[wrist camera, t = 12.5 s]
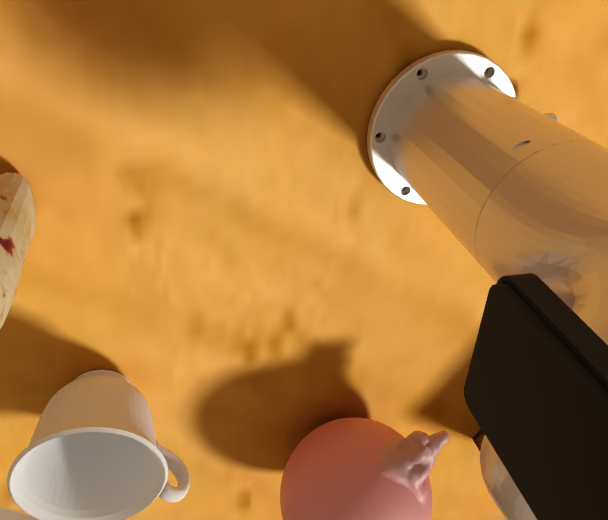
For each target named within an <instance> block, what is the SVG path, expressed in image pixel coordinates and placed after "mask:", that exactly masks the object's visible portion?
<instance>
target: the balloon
mask: <svg viewBox="0 0 608 520" xmlns="http://www.w3.org/2000/svg"><path fill="white" fill-rule="evenodd" d="M448 441H449V434H448V433H447V432H446V431H440V432H438V433H435V434H433V435H430V436H428V435H427V434H426V433H424V432H421V431H414V432H413V433H411V434H410V435H409V436H407V437H406V438H404V437H403V436H402V435H400V434H399V433H398V432H396V431H395V430H394V429H392V428H390V427H389V426H387V425H385V424H382V423H380V422H377V421H374V420H371V419H366V418H358V417H349V418H341V419H336V420H333V421H330V422H327V423H325V424H323V425H321V426H319V427H317V428H316V429H314V430H313V431H311V432H310V433H309V434H308V435H306V436H305V437H304V438H303V439H302V440H301V442H300V443H299V444H298V445H297V446H296V448H295V449H294V451H293V452H292V454H291V456H290V458H289V460H288V462H287V464H286V467H285V470H284V473H283V477H282V482H281V490H280V504H281V512H282V517H283V520H431V514H432V491H431V485H430V481H429V477H428V475H429V473H430V470H431V468H432V467H433V465H434V462H435V457H436V456H437V455H438V453H439V451H440V450H441V449H442V448H443V446H444V444H446V443H447V442H448Z"/></svg>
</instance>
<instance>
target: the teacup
mask: <svg viewBox="0 0 608 520" xmlns="http://www.w3.org/2000/svg"><path fill="white" fill-rule="evenodd" d="M168 469H170V470H171V471H172V473H173V474H174V475H175V477H176V479H177V482H178V487H173V486H171V485H170V484H169V483H168V482H167V478H168ZM7 486H8V490H9V493H10V495H11V497H12V498H13V500H14V501H15V502H16V503H17V504H18V505H19V506H20V507H21V508H22V509H23V510H24V511H26V512H27V513H28V514H30V515H32V516H33V517H35V518H37V519H40V520H124V519H126V518H129V517H131V516H133V515H135V514H137V513H138V512H140V511H142V510H143V509H144V508H146V507H147V506H148V505H150V504H151V503H152V502H153V501H154V500H155V499H156V498H157V497H158V496H159V497H160V498H161V499H163V500H165V501H167V502H177V501H180V500H181V499H182V498H183V497H184V496H185V495H186V493H187V492H188V489H189V486H190V475H189V472H188V469H187V467H186V466H185V464H184V463H183V461H182V460H181V459H180V458H179V457H178V456H176V455H175V454H174V453H172V452H171V451H169V450H167V449H166V448H164V447H163V446H161V445H160V444H159V443H158V442H157V441H156V440H155V433H154V426H153V420H152V415H151V411H150V408H149V405H148V403H147V401H146V399H145V397H144V396H143V395H142V393H141V392H140V391H139V390H138V389H137V388H136V387H134V386H133V385H131V383H130V381H129V380H128V379H127V378H126V377H125V376H123V375H122V374H120V373H117V372H115V371H111V370H93V371H89V372H86V373H83V374H81V375H80V376H78V377H77V378H76V379H75V380H74V381H73V382H71V383H69V384H67V385H66V386H64V387H63V388H61V389H60V390H59V391H58V392H57V393H56V394H55V395H54V396H53V397H52V398H51V400H50V401H49V402H48V404H47V405H46V407H45V409H44V411H43V413H42V415H41V417H40V419H39V422H38V424H37V427H36V429H35V432H34V434H33V437H32V439H31V442H30V444H29V446H28V447H27V448H26V449H24V450H23V451H22V452H21V453H20V454H19V455H18V456H17V458H16V459H15V460H14V462H13V463H12V465H11V467H10V469H9V473H8V477H7Z"/></svg>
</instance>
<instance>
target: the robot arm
mask: <svg viewBox="0 0 608 520" xmlns="http://www.w3.org/2000/svg"><path fill="white" fill-rule="evenodd" d="M419 70H420V73H419V74H417V72H418V71H419ZM485 70H486V71H485ZM379 132H380V133H379ZM378 133H379V135H378V136H376V135H377V134H378ZM367 150H368V155H369V159H370V163H371V166H372V168H373V170H374V172H375V174H376V176H377V177H378V178H379V180H380V181H381V182H382V184H383V185H384V186H385V187H386V188H387V189H388V190H389V191H390V192H391V193H392V194H394V195H396V196H397V197H399V198H400V199H403V200H406V201H409V202H412V203H416V204H424V205H428V206H429V208H430V209H431V210H432V211H433V212H434V213H435V214H436V215H437V217H438V218H439V219H440V220H441V221H442V222H443V223H444V224H445V226H446V227H447V228H448V229H449V230H450V231H451V232H452V233H453V235H454V236H455V237H456V238H457V239H458V240H459V241H460V242H461V244H462V245H463V246H464V247H465V248H466V249H467V250H468V251H469V253H470V254H471V255H472V256H473V257H474V258H475V259H476V260H477V262H478V263H479V264H480V265H481V266H482V267H483V268H484V269H485V270H486V272H487V273H488V274H489V275H490V276H491V277H492V278H493V279H494V281H495V282H496V283H497V284H495V285H492V287H491V288H490V290H489V293H488V297H487V301H486V305H485V309H484V313H483V316H482V320H481V324H480V328H479V332H478V336H477V340H476V344H475V348H474V352H473V356H472V359H471V363H470V367H469V371H468V375H467V379H466V383H465V387H464V396H465V401H466V404H467V406H468V408H469V409H470V411H471V413H472V414H473V416H474V418H475V419H476V421H477V422H478V424H479V426H480V427H481V429H482V431H483V432H484V434H485V435H484V438H483V441H482V445H481V451H480V464H481V472H482V476H483V479H484V481H485V484H486V487H487V489H488V491H489V493H490V495H491V497H492V498H493V500H494V502H495V503H496V505H497V506H498V508H499V509H500V511H501V512H502V513H503V515H504V516H505V517H506V518H507V519H508V520H608V149H607V148H605V147H603V146H601V145H599V144H597V143H596V142H594V141H592V140H590V139H588V138H586V137H585V136H583V135H581V134H579V133H577V132H575V131H574V130H572V129H570V128H568V127H566V126H564V125H563V124H561V123H559V122H557V117H556V115H555V114H554V113H545V114H542V113H541V112H539V111H537V110H535V109H533V108H532V107H530V106H528V105H526V104H524V103H522V102H521V101H519V100H517V96H516V93H515V90H514V86H513V84H512V82H511V81H510V79H509V77H508V75H507V74H506V73H505V72H504V71H503V70H502V69H501V67H500V66H499V65H498V64H496V63H494V62H493V61H491V60H490V59H488V58H487V57H484V56H482V55H480V54H477V53H475V52H470V51H465V50H445V51H441V52H436V53H432V54H430V55H427V56H425V57H423V58H421V59H418V60H416V61H415V62H413V63H412V64H410V65H409V66H407V67H406V68H405V69H403V70H402V71H401V72H400V73H399V74H398V75H397V76H396V77H395V78H394V79H393V80H392V81H391V82H390V83H389V84H388V86H387V87H386V88H385V90H384V91H383V92H382V94H381V96H380V97H379V99H378V101H377V103H376V105H375V107H374V109H373V112H372V115H371V118H370V121H369V126H368V133H367ZM403 187H404V188H403Z"/></svg>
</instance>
